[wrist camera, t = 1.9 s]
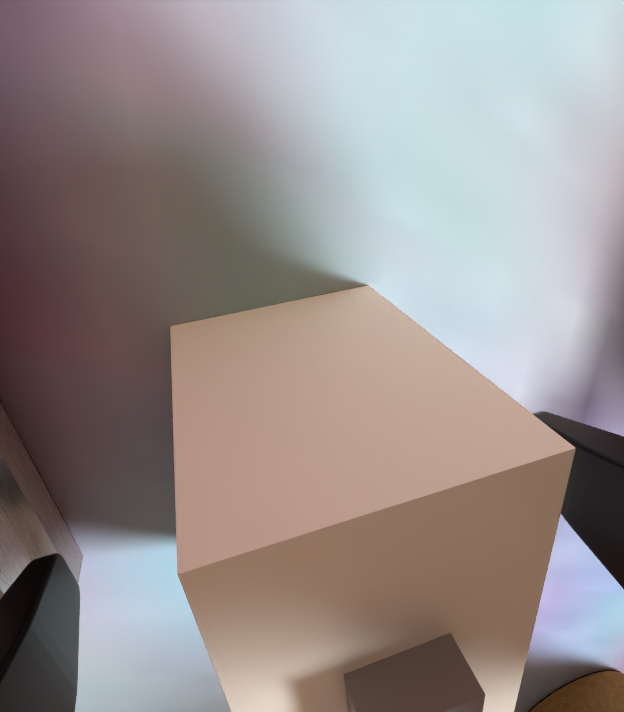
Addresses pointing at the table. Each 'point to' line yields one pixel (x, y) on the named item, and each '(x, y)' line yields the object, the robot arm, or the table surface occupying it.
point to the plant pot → (588, 695)
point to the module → (357, 510)
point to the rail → (27, 513)
